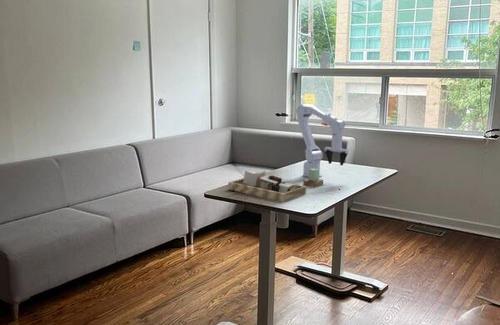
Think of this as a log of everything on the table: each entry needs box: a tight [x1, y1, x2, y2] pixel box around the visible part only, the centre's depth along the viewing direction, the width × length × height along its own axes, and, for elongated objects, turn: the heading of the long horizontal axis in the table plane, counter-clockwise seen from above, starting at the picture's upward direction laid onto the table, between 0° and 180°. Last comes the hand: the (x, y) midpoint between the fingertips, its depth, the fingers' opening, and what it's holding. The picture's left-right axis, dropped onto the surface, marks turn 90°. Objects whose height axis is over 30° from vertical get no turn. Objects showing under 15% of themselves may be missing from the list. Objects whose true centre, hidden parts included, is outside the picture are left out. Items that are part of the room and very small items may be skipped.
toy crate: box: [228, 177, 307, 203], centre depth 252 cm, size 36×20×4 cm, turn 51°
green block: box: [307, 169, 319, 181], centre depth 268 cm, size 4×4×6 cm
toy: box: [243, 170, 298, 193], centre depth 252 cm, size 12×10×30 cm
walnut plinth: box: [302, 178, 324, 188], centre depth 269 cm, size 8×8×3 cm
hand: (335, 164), depth 276 cm, fingers open, 7 cm apart
